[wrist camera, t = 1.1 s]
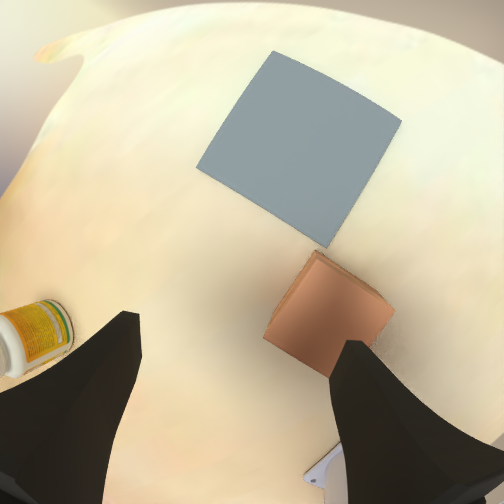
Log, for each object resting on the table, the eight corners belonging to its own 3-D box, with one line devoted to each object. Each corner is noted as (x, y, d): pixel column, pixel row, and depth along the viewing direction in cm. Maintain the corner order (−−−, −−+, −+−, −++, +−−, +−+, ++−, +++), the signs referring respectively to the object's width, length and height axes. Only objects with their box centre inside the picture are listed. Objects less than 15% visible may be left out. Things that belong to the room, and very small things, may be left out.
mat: (399, 123, 18) (402, 120, 18) (325, 247, 20) (326, 248, 19) (273, 54, 19) (272, 50, 19) (198, 168, 21) (195, 167, 20)
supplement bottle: (68, 363, 25) (-2, 403, 16) (34, 329, 26) (-36, 357, 16) (81, 321, 24) (0, 358, 15) (44, 287, 25) (-35, 308, 15)
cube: (376, 290, 20) (395, 311, 15) (333, 349, 21) (339, 384, 16) (315, 249, 20) (316, 258, 15) (273, 311, 21) (263, 337, 16)
